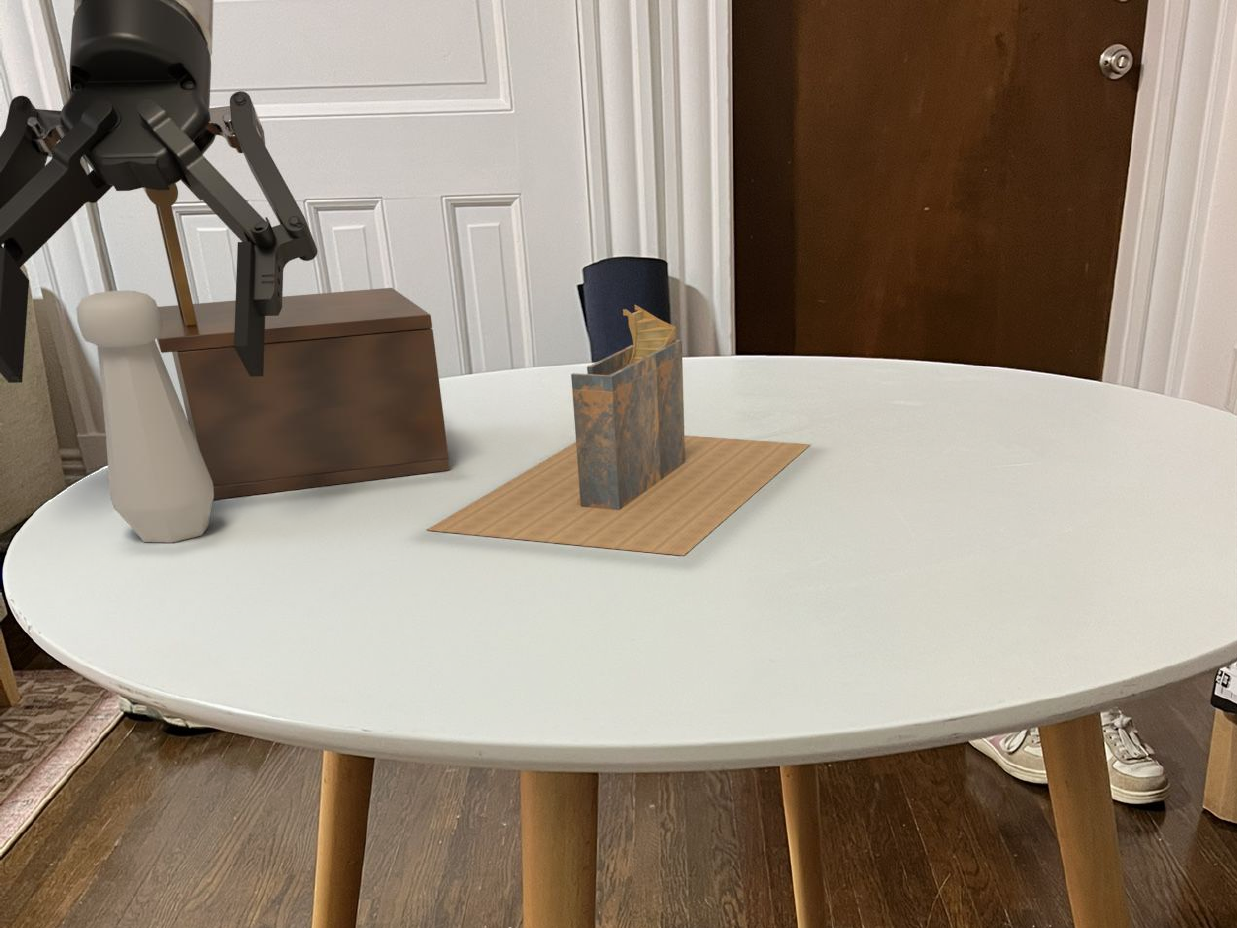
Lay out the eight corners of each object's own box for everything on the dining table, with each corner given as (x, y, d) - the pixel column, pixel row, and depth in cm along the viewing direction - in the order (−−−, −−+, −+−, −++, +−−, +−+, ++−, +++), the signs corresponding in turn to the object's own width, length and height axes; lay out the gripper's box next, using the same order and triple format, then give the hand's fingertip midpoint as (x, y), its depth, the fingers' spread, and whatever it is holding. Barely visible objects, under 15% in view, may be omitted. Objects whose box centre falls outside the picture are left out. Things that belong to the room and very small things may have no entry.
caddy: (211, 500, 84) (177, 352, 79) (195, 454, 93) (164, 320, 89) (450, 470, 88) (432, 328, 83) (412, 429, 98) (394, 300, 93)
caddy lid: (161, 353, 79) (120, 178, 73) (150, 320, 88) (113, 164, 83) (432, 328, 83) (411, 163, 78) (394, 299, 93) (373, 151, 88)
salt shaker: (195, 549, 76) (135, 302, 68) (103, 547, 76) (34, 302, 69) (238, 518, 80) (187, 284, 73) (151, 516, 81) (92, 284, 74)
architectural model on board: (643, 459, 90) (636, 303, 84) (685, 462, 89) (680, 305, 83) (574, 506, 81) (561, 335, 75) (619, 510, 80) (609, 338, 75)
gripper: (-109, -14, 73) (-142, 327, 69) (339, -23, 73) (333, 315, 69) (-36, 96, 80) (-62, 409, 76) (371, 87, 81) (367, 398, 77)
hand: (126, 365), depth 73 cm, fingers open, 13 cm apart
